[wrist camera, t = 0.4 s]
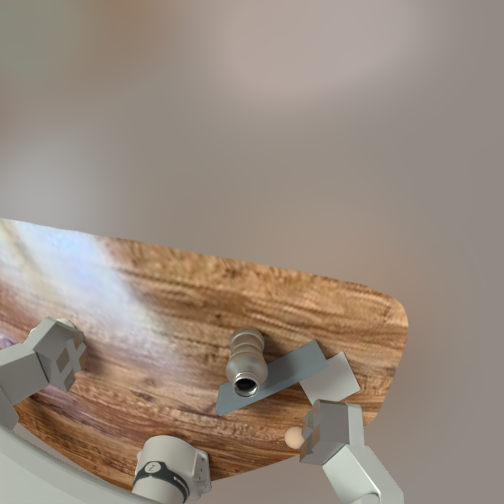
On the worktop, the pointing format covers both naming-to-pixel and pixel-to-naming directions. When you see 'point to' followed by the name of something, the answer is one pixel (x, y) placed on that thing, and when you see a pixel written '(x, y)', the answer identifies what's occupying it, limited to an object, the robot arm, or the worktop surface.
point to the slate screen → (276, 377)
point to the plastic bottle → (246, 362)
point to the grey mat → (331, 381)
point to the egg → (294, 437)
